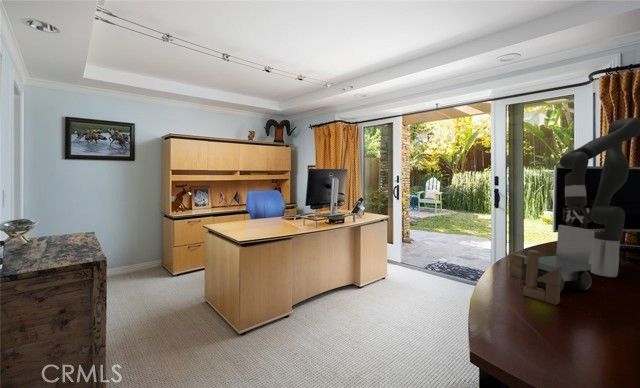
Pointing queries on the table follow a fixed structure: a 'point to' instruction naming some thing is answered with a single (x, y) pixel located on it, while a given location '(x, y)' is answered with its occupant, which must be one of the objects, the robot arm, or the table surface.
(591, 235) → the trolley
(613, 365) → the table surface
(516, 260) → the block
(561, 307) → the table surface
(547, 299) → the tan wooden frame
